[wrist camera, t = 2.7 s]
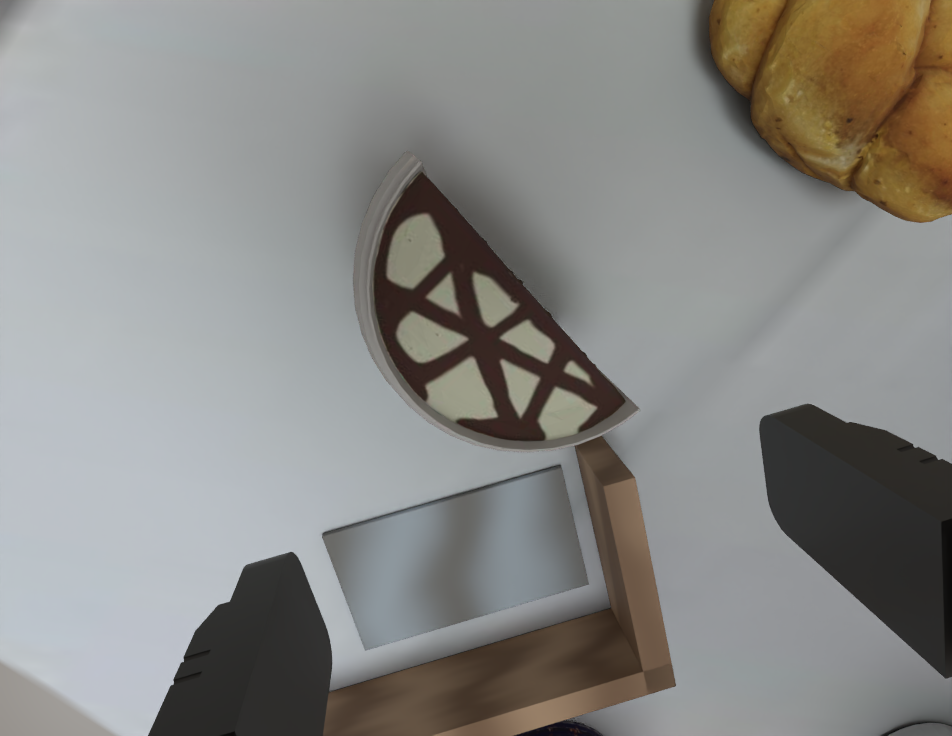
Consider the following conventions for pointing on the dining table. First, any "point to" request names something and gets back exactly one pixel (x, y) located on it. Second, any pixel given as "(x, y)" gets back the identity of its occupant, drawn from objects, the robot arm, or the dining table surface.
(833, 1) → the bread roll
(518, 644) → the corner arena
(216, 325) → the dining table surface
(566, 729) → the rusty blue oil drum
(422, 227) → the food container
